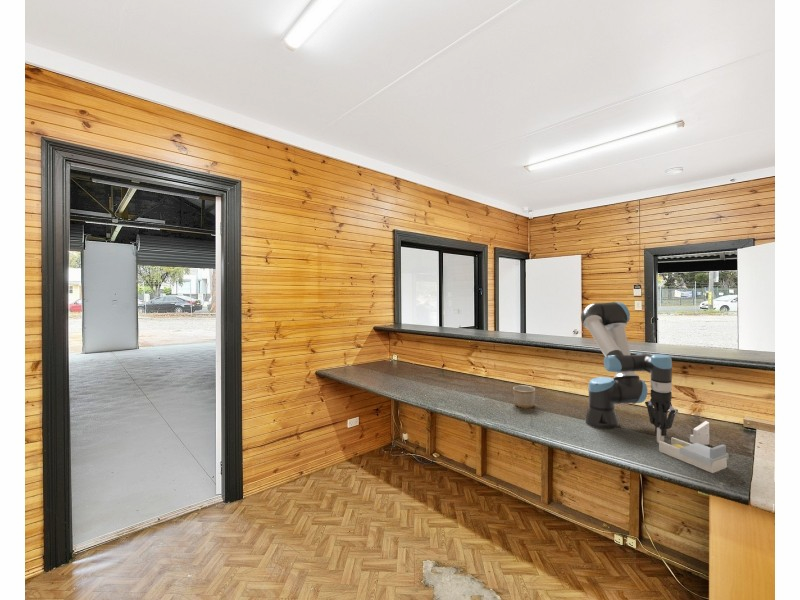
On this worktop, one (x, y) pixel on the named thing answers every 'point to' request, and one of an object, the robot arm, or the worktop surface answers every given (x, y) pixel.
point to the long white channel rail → (675, 453)
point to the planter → (524, 396)
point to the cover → (704, 452)
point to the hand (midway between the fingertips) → (660, 441)
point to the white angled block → (701, 434)
